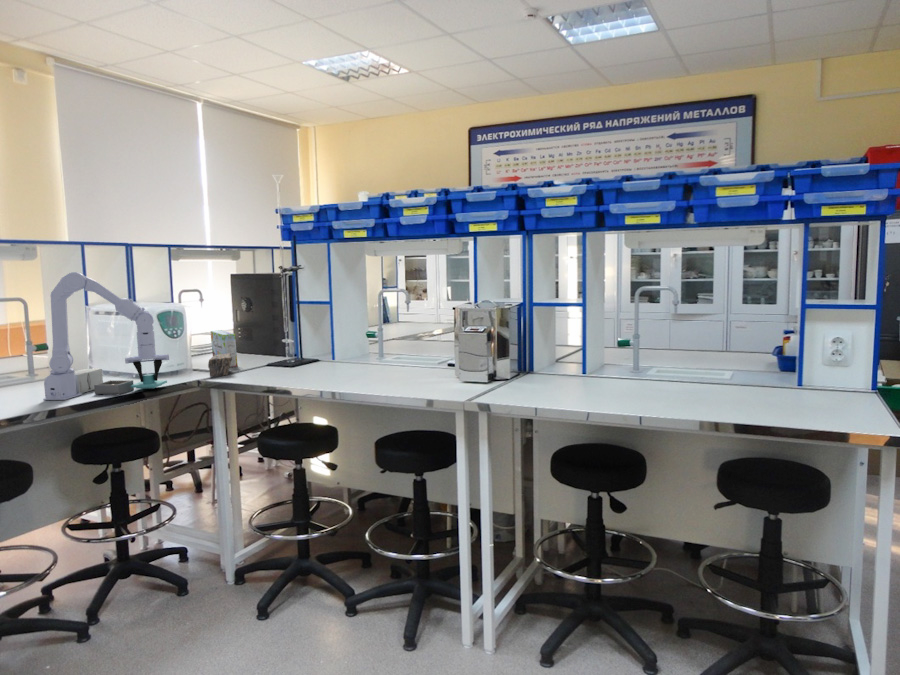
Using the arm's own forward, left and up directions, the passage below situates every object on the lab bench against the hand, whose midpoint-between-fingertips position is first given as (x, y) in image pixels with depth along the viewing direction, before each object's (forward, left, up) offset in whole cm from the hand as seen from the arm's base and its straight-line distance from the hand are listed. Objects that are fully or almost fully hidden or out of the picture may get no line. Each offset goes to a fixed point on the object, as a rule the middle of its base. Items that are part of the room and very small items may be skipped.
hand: (149, 381), depth 233 cm
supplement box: (+3, +23, +1) cm, 24 cm away
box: (-6, +10, -3) cm, 12 cm away
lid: (0, 0, -2) cm, 2 cm away
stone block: (+33, -13, -3) cm, 36 cm away
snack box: (+58, -2, -3) cm, 58 cm away
